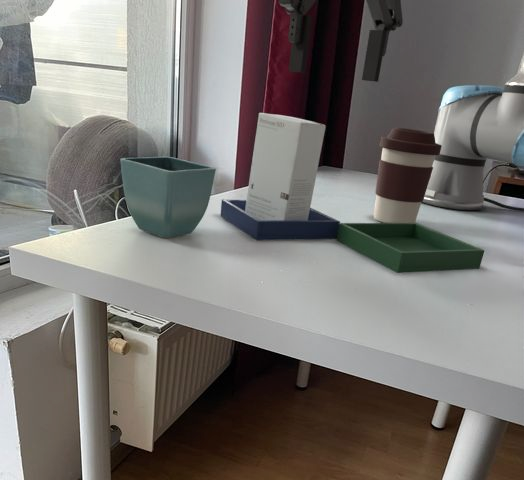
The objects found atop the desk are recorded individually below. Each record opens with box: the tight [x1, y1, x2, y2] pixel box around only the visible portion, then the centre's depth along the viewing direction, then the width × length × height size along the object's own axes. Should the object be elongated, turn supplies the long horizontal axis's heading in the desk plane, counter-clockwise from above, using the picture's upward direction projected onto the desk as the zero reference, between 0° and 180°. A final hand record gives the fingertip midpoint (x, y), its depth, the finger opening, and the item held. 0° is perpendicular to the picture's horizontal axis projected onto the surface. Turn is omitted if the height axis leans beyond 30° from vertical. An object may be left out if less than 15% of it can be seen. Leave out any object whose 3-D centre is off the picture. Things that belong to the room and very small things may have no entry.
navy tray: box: [220, 198, 341, 241], centre depth 83 cm, size 13×13×3 cm
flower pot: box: [119, 156, 217, 239], centre depth 72 cm, size 9×9×9 cm
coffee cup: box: [373, 127, 442, 223], centre depth 94 cm, size 10×10×15 cm
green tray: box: [335, 222, 485, 274], centre depth 77 cm, size 14×14×3 cm
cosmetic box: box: [245, 112, 327, 221], centre depth 80 cm, size 8×6×15 cm
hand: (335, 77), depth 78 cm, fingers open, 13 cm apart
